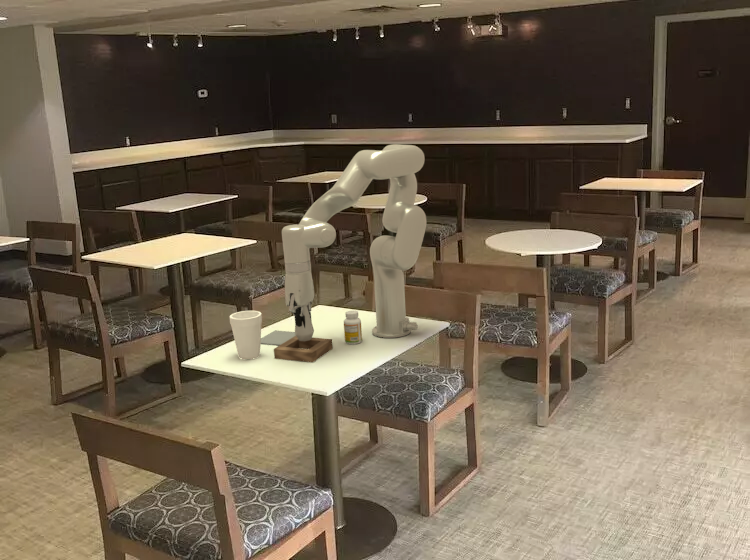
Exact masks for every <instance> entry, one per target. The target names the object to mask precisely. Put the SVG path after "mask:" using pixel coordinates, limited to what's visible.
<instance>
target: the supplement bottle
mask: <svg viewBox="0 0 750 560" xmlns="http://www.w3.org/2000/svg"><path fill="white" fill-rule="evenodd" d="M343 330H344V331H343V332H344V333H343V334H344V342H345V344H347V345H358V344H360V343H362V342H363V336H362V335H363V333H362V320H361V318H360V317H359V311H357V310H347V311H346V312H345V319H344V320H343Z"/></svg>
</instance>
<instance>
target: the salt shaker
mask: <svg viewBox="0 0 750 560" xmlns="http://www.w3.org/2000/svg"><path fill="white" fill-rule="evenodd" d="M308 303H309V302H306V304H305V305H303V315H304V316H305V328H304V325H303V321H302V326H301V327H298V326H297V325H296V326H295V327H294V332H295V335H296V337H297V338H298V340H299V341H309V340H311V339H312V337H313V336H314V332H315V329H314V326H313V322H311V320H312V317H311V318H310V315H309V311H308V308H307V305H308ZM295 305H297V304H295ZM297 309H299V311H300V308H297Z"/></svg>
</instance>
